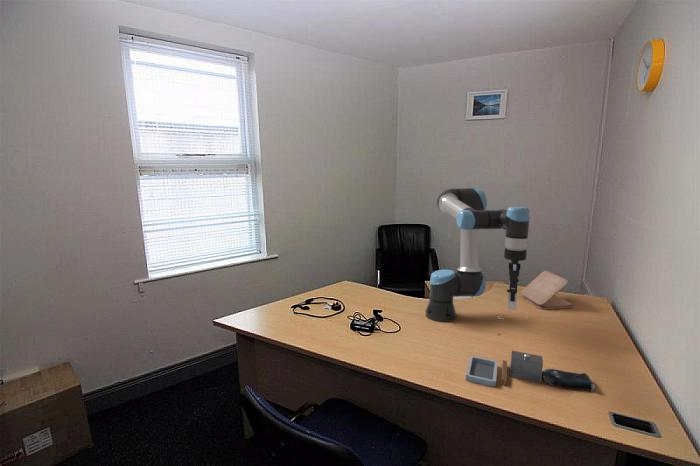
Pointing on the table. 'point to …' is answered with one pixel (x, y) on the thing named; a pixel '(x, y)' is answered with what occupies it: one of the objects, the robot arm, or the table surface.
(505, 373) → the door edge strip
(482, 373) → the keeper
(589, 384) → the electronic device
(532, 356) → the grey block with knob
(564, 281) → the case
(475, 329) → the table surface
